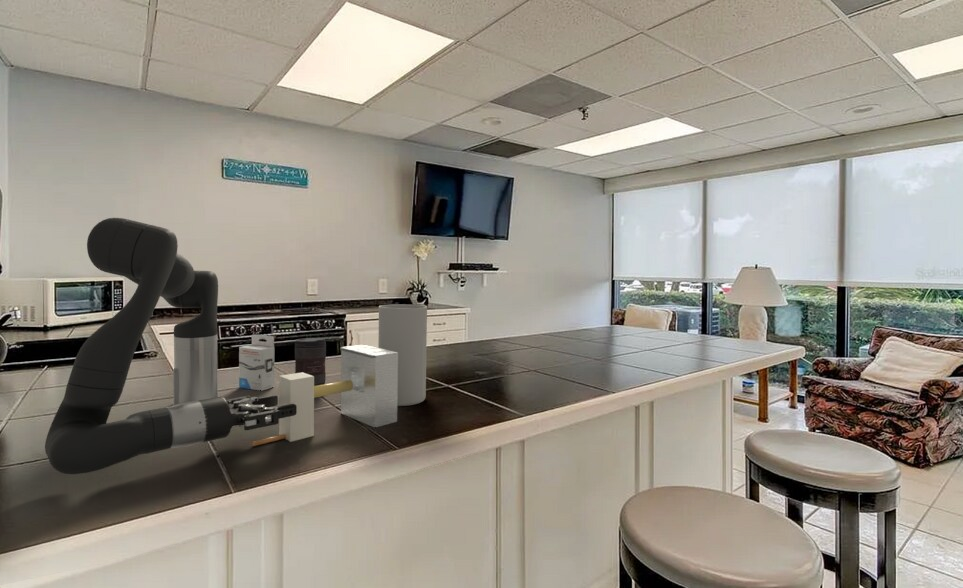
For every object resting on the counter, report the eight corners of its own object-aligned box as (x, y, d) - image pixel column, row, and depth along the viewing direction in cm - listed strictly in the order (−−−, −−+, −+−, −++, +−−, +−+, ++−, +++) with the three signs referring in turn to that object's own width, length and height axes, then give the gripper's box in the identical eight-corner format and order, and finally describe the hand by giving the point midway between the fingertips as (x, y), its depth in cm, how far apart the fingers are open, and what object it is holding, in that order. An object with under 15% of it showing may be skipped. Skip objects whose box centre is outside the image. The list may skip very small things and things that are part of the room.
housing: (372, 428, 105) (373, 355, 104) (338, 413, 114) (339, 347, 113) (397, 421, 110) (397, 352, 109) (362, 408, 119) (363, 344, 118)
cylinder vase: (368, 399, 127) (369, 305, 125) (405, 391, 136) (407, 303, 135) (397, 410, 118) (398, 309, 117) (435, 400, 127) (436, 307, 126)
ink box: (238, 388, 136) (237, 336, 135) (251, 384, 140) (251, 334, 139) (262, 391, 133) (261, 338, 132) (275, 387, 137) (275, 336, 137)
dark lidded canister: (330, 390, 135) (330, 337, 135) (318, 397, 127) (318, 342, 127) (303, 388, 136) (303, 336, 135) (289, 396, 128) (289, 340, 127)
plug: (257, 450, 91) (257, 385, 90) (247, 443, 94) (246, 380, 94) (355, 424, 107) (356, 369, 106) (343, 419, 110) (344, 365, 109)
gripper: (210, 410, 80) (302, 393, 92) (184, 393, 90) (271, 379, 102) (210, 453, 81) (302, 431, 93) (185, 432, 91) (271, 414, 102)
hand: (286, 404), depth 97 cm, fingers open, 8 cm apart
